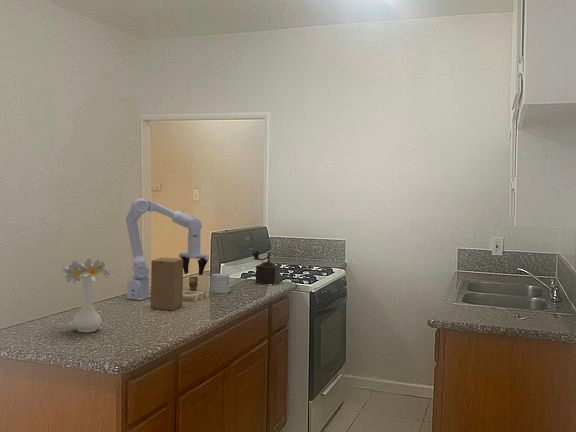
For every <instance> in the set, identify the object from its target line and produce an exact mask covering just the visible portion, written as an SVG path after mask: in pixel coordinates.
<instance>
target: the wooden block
mask: <svg viewBox="0 0 576 432" xmlns="http://www.w3.org/2000/svg"><path fill="white" fill-rule="evenodd" d="M150 266H151V267H150V271H151V272H150V295H151V297H150V309H153V310H161V309H162V310H161V311H163V310H164V311H175V310H176V309H178V308H180V307H182V306H183V301H182V296H183V285H184V283H183V282H184V280H183V279H184V269H183V259H181V258H179V257H176V258H175V257H159V258H156V259H153V260H151V265H150Z"/></svg>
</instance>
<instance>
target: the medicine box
mask: <svg viewBox="0 0 576 432" xmlns="http://www.w3.org/2000/svg"><path fill="white" fill-rule="evenodd" d="M210 283H211V284H210V287H211V289H210V292H211V294H229V292H230V274H227V273H226V274H225V273H213V274H212V275H211V281H210Z"/></svg>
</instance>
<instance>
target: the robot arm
mask: <svg viewBox="0 0 576 432" xmlns="http://www.w3.org/2000/svg"><path fill="white" fill-rule="evenodd" d="M146 212H157V213H159V214H161V215H164V216H165V217H169V218H170V219H171V221H172V222H173V223H175V224H177V225H179V226H181V227H183V228H185V229H186V228H187V231H188V232H187V252H181V253H180V252H179V254H178V258H180V259H183V275H186V274H189V264H190V259H196V260H197V264H198V276H203V275H204V274H203V273H204V270H205V267H206V265H207V263H208V261H209V260H210V258H209V257H210V254H209V255H208V254H204V253H203V254H202V253H201V241H202V240H201V229H202V227H203V225H202V224H203V223H202V222H201V220H200V219H197V218H196V217H194V216H193V215H189V214H188V213H185V211H183V210H176V211H173V210H172V209H170V208H167V207H166V206H163V205H161V204H159V203H157V202H155V201H151V200H148V199H145V198H142V197H139V198H136V199H135V200H134V201H133V202H132V203H131V204H130V206H129V209H128V212H127V214H126V216H125V222H126V228H127V233H128V238H129V242H130V243H129V244H130V248H131V253H132V258H133V266H132V269H133V270H132V271H133V273H134V274H133V275H132V278H131V279H130V280H129V281H128V282H127V293H126V294H127V296H126V297H125V299H128V300H137V301H142V300H146V299H151V294H150V276H149V274H150V269H149V267H148V264H146V260H145V256H144V250H143V245H142V240H141V236H140V231H139V225H138V220H139V219H140V218H141V216H142V215H144V214H145V213H146Z"/></svg>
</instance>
